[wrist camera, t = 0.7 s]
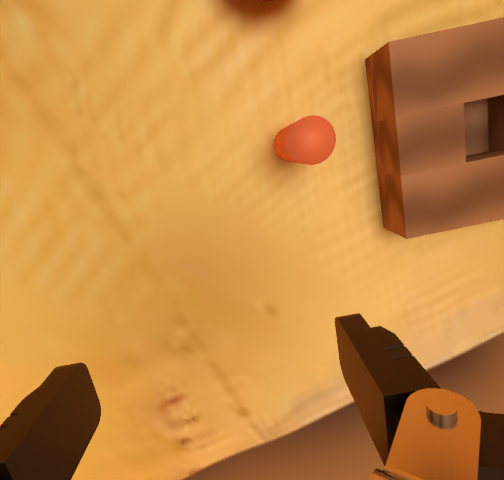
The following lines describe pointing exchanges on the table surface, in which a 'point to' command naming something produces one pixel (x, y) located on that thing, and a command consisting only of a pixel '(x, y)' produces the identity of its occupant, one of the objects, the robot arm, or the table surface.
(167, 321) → the table surface
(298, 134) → the dowel
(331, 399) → the table surface
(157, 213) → the table surface
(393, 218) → the bore block
